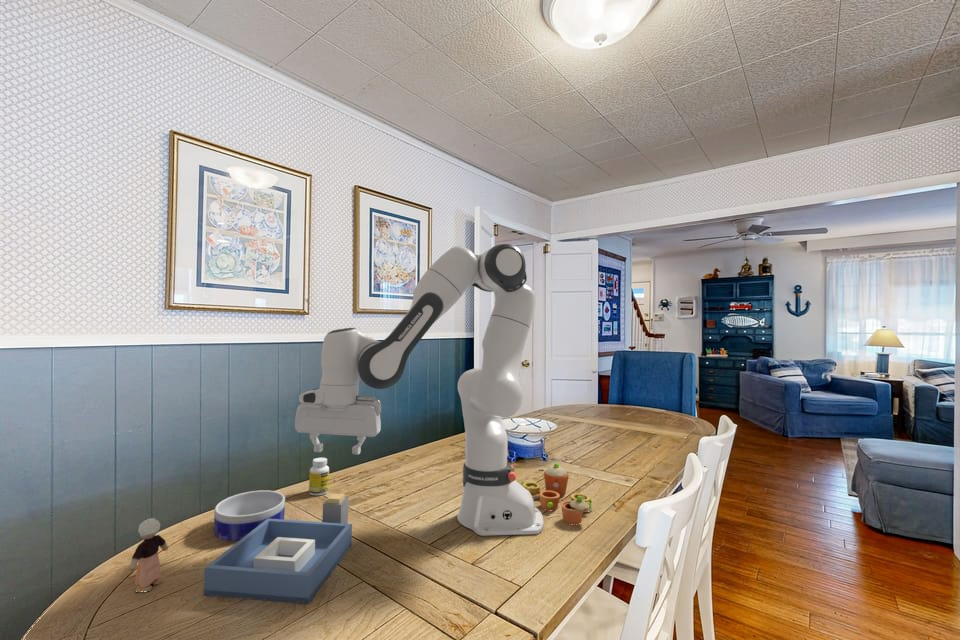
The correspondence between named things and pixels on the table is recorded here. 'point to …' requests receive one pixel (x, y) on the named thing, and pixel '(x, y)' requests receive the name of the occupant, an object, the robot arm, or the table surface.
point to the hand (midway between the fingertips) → (337, 452)
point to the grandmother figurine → (148, 555)
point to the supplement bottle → (319, 477)
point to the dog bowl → (246, 513)
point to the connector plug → (336, 509)
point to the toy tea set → (559, 495)
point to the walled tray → (279, 561)
